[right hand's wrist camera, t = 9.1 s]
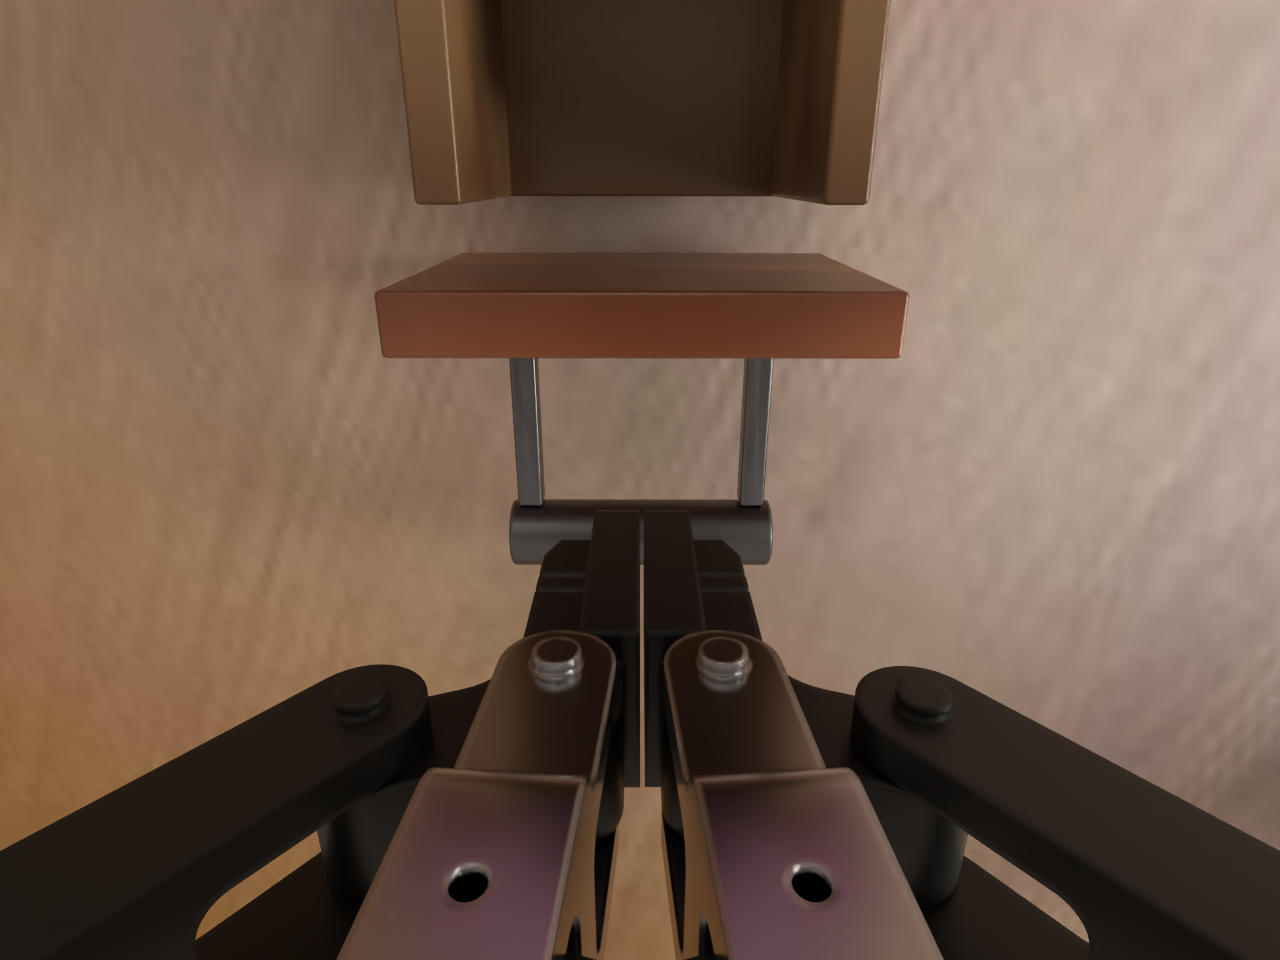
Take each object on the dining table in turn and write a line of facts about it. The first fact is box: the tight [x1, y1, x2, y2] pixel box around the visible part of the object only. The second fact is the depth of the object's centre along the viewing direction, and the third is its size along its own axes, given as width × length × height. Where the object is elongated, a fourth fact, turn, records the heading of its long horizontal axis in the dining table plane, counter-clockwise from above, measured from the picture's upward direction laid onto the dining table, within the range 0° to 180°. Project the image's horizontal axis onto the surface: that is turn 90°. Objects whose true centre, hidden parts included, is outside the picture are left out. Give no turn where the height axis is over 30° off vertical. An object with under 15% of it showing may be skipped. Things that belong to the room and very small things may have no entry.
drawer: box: [375, 0, 909, 565], centre depth 15 cm, size 24×9×7 cm, turn 0°
